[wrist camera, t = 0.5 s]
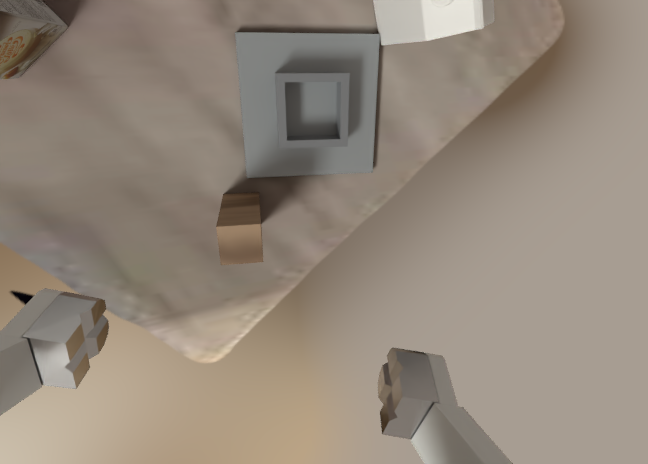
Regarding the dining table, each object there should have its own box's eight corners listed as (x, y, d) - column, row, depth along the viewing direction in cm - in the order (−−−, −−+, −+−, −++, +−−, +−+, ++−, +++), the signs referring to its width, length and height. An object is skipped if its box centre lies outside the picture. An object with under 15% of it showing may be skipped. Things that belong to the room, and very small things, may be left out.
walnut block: (223, 194, 56) (216, 226, 45) (258, 192, 56) (260, 224, 46) (226, 226, 58) (221, 265, 47) (261, 224, 58) (263, 261, 48)
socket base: (235, 32, 48) (234, 30, 44) (377, 34, 50) (387, 32, 47) (247, 175, 55) (246, 184, 51) (370, 170, 58) (378, 178, 54)
